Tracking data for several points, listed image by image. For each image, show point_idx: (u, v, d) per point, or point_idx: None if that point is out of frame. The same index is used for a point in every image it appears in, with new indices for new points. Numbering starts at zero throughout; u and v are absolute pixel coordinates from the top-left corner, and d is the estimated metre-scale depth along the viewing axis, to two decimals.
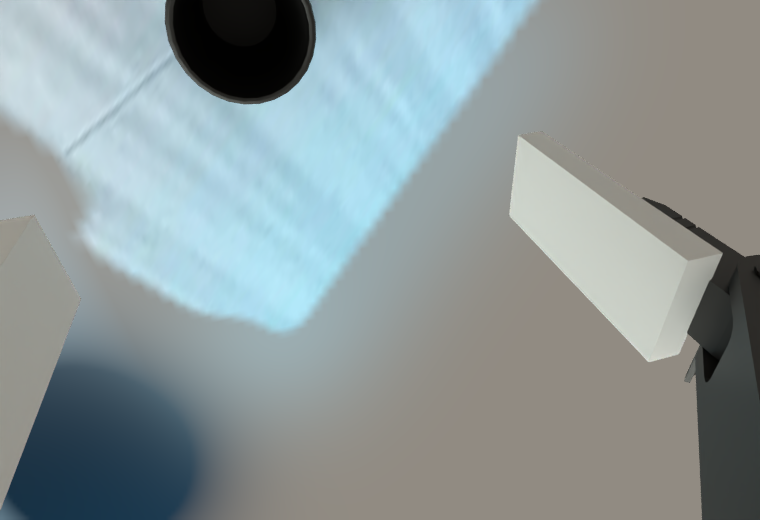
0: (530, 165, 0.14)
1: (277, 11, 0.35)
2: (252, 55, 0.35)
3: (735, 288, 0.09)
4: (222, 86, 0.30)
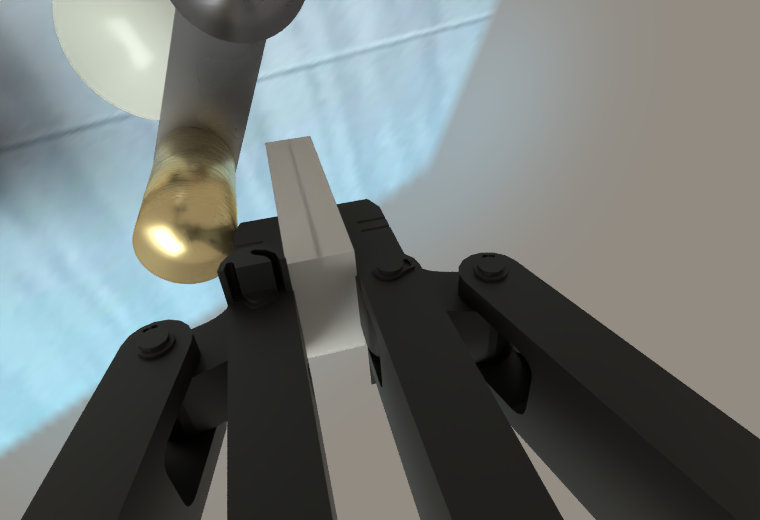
0: None
1: None
2: None
3: (365, 297, 0.09)
4: None
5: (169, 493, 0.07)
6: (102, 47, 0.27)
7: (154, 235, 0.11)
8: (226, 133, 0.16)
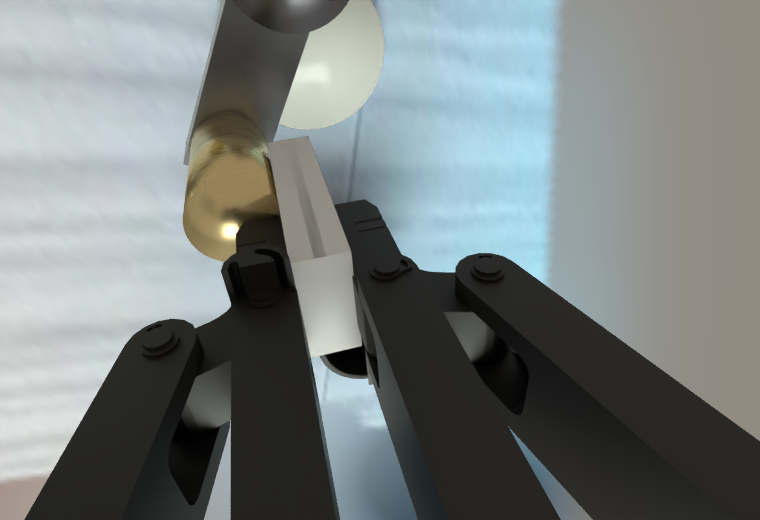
0: None
1: None
2: None
3: (362, 298, 0.09)
4: None
5: (173, 493, 0.07)
6: (304, 99, 0.32)
7: (204, 211, 0.12)
8: (262, 120, 0.16)
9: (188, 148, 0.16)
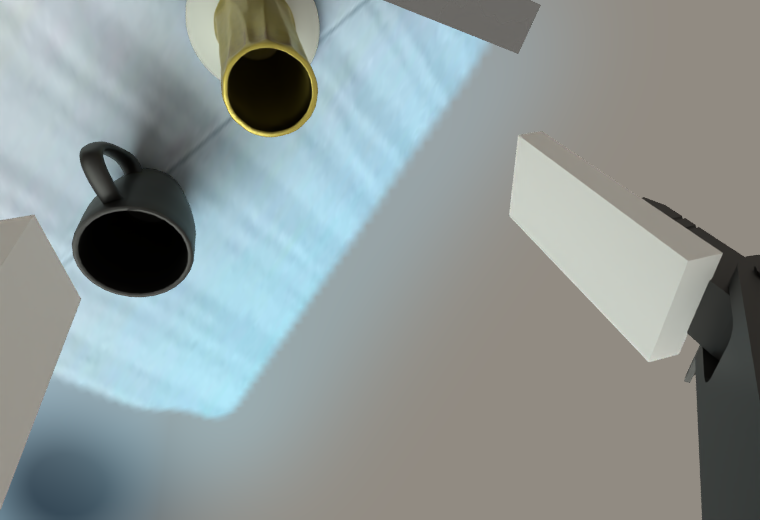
0: (530, 165, 0.14)
1: None
2: (161, 233, 0.44)
3: (735, 288, 0.09)
4: (125, 282, 0.39)
5: None
6: None
7: None
8: None
9: None
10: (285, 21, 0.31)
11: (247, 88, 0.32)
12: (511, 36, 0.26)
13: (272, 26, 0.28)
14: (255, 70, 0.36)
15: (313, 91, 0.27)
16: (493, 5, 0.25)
